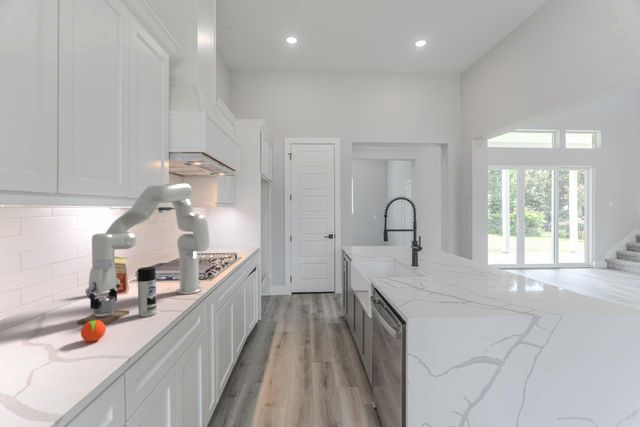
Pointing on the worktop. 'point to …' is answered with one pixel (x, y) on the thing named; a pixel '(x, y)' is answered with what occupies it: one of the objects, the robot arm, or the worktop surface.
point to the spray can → (146, 291)
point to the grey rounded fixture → (104, 313)
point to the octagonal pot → (106, 305)
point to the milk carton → (121, 275)
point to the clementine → (93, 330)
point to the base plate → (106, 320)
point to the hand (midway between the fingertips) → (104, 304)
